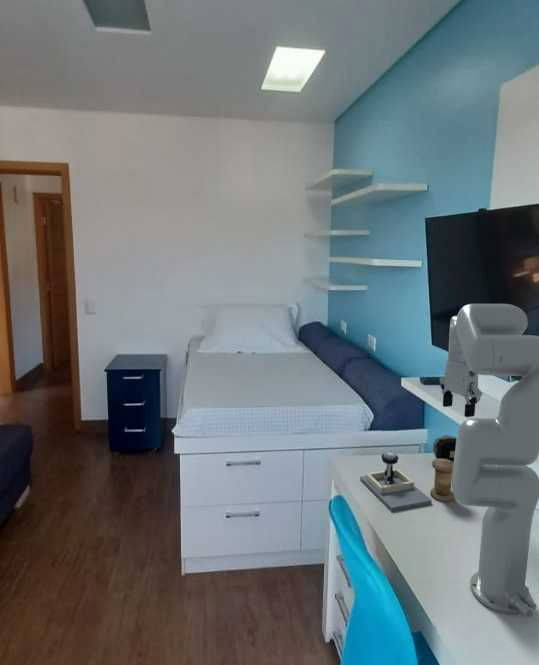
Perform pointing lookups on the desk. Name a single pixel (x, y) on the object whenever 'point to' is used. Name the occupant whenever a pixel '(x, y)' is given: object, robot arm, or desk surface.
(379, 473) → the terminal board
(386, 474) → the push button
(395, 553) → the desk surface
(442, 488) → the wooden cabinet knob
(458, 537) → the desk surface
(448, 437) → the cpu cooler
